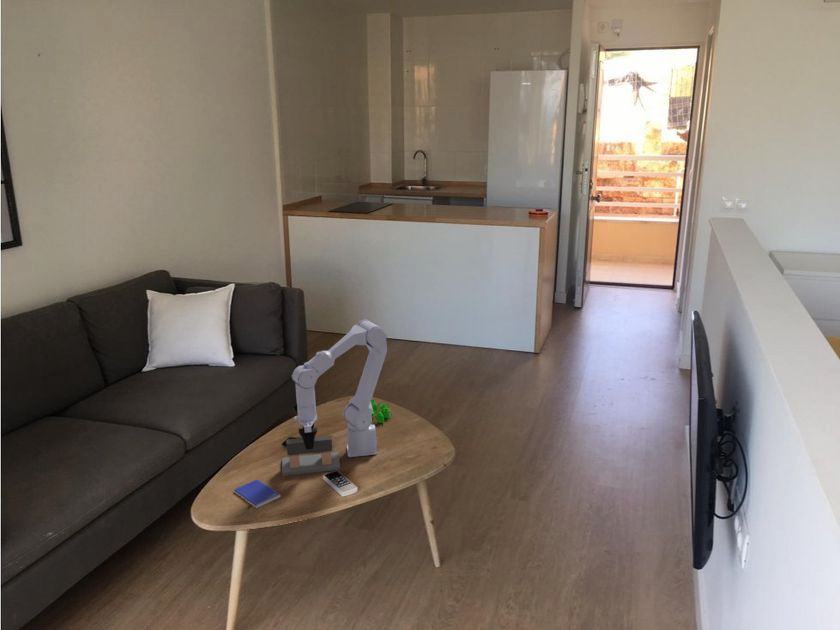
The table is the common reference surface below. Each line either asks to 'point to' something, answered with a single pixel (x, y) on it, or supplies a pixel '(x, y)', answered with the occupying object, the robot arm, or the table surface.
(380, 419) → the green bumpy cluster
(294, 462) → the display stand
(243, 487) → the hard drive
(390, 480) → the table surface
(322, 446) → the dark gray bar
